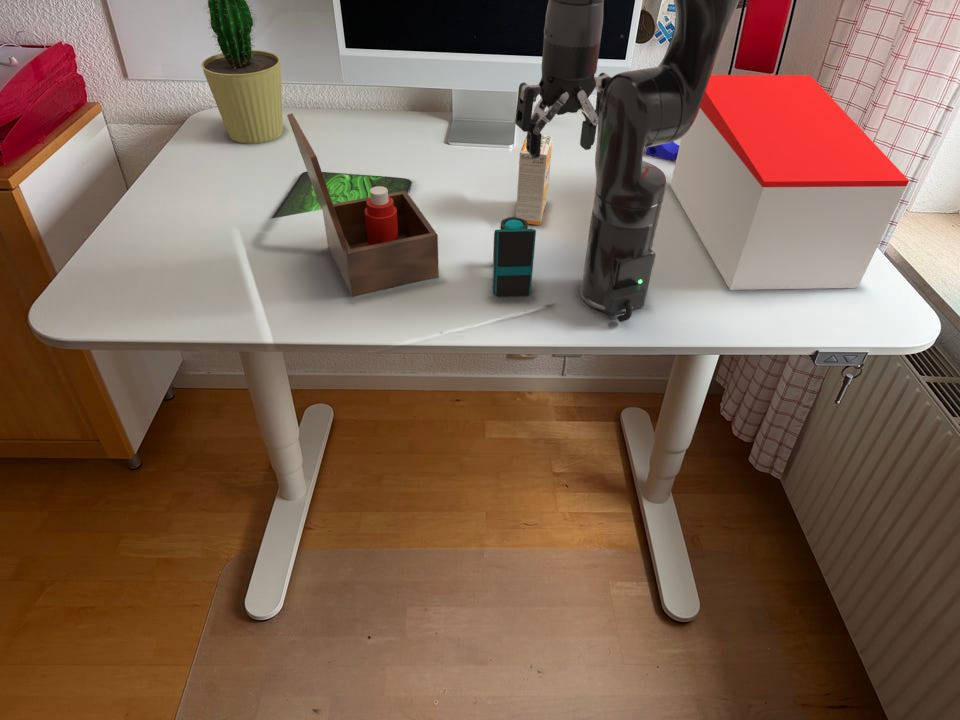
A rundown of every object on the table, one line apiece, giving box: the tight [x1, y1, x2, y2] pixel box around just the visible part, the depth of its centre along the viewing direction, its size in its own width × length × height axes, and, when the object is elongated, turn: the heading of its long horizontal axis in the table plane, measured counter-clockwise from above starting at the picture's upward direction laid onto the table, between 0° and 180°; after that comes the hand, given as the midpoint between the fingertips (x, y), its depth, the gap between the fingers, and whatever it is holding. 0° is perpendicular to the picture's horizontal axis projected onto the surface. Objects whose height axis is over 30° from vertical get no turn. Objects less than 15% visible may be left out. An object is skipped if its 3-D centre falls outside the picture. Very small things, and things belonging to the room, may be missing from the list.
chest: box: [322, 191, 440, 298], centre depth 105 cm, size 14×15×8 cm
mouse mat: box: [270, 171, 413, 219], centre depth 120 cm, size 27×22×1 cm
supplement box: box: [515, 134, 554, 226], centre depth 117 cm, size 8×5×13 cm, turn 168°
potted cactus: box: [201, 0, 284, 145], centre depth 135 cm, size 15×15×30 cm
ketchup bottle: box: [365, 186, 399, 246], centre depth 103 cm, size 5×5×12 cm
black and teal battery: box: [492, 216, 537, 298], centre depth 101 cm, size 6×12×10 cm
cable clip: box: [645, 141, 680, 162], centre depth 138 cm, size 12×4×6 cm, turn 58°
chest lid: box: [286, 113, 348, 251], centre depth 94 cm, size 15×15×1 cm
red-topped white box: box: [670, 74, 910, 291], centre depth 111 cm, size 21×35×21 cm, turn 3°
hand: (560, 151), depth 100 cm, fingers open, 8 cm apart
